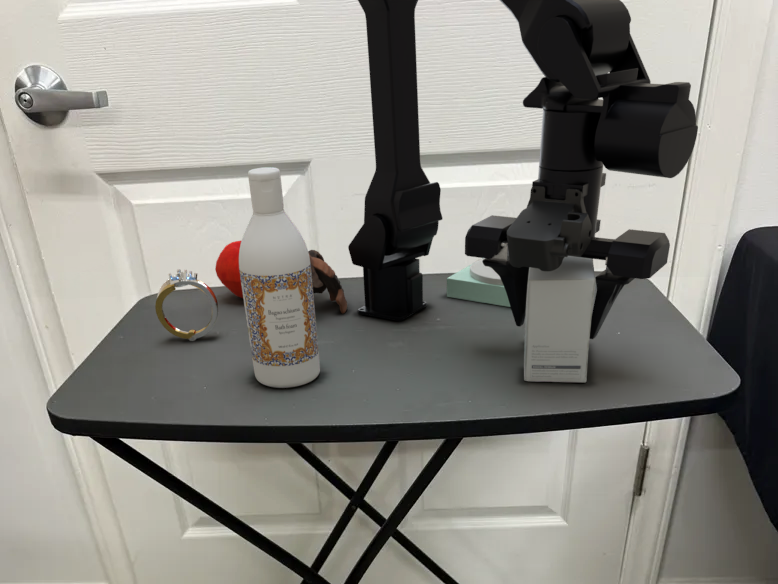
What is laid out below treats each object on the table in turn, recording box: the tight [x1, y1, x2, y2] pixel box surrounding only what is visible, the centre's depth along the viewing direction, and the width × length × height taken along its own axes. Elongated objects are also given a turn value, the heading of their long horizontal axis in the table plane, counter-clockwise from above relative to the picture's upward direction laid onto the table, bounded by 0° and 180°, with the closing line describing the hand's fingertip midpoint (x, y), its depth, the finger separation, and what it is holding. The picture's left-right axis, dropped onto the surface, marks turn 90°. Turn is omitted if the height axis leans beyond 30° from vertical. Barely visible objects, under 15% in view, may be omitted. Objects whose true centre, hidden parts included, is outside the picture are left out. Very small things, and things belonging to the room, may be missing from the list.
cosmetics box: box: [523, 256, 596, 384], centre depth 78 cm, size 10×6×10 cm, turn 169°
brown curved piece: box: [308, 249, 348, 314], centre depth 98 cm, size 12×10×8 cm
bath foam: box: [239, 166, 321, 389], centre depth 76 cm, size 7×7×20 cm
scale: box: [446, 258, 511, 308], centre depth 100 cm, size 13×11×3 cm
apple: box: [214, 240, 243, 299], centre depth 101 cm, size 8×8×7 cm
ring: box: [154, 268, 219, 342], centre depth 89 cm, size 7×3×8 cm, turn 92°
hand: (555, 331), depth 79 cm, fingers closed on cosmetics box, 7 cm apart
